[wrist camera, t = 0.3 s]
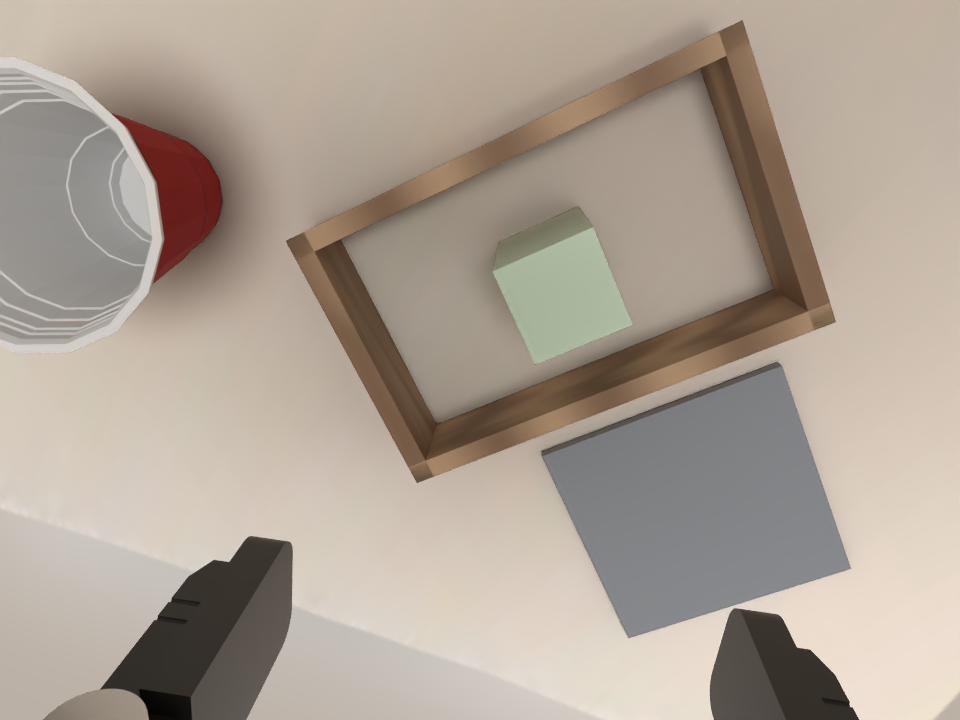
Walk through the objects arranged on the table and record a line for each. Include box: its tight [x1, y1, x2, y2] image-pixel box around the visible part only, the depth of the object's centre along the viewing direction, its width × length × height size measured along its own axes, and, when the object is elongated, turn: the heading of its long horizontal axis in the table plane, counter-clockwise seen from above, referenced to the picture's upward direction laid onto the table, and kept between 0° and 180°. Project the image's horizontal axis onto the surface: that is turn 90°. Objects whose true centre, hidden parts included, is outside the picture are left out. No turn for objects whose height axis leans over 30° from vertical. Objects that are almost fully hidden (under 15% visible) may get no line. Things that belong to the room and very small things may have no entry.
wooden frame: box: [286, 20, 836, 483], centre depth 33 cm, size 22×14×4 cm, turn 115°
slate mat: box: [542, 362, 851, 638], centre depth 39 cm, size 14×14×1 cm
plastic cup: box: [0, 57, 222, 353], centre depth 30 cm, size 11×11×12 cm
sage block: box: [492, 206, 633, 365], centre depth 32 cm, size 4×4×8 cm
